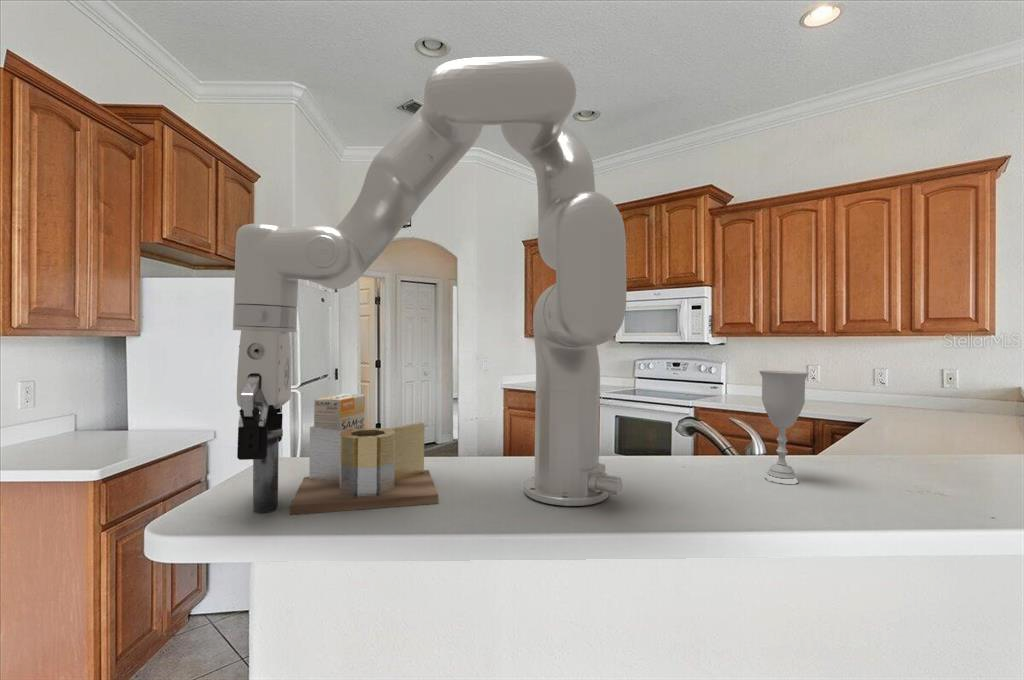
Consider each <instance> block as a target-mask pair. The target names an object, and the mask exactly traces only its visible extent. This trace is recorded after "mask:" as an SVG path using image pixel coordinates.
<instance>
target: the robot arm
mask: <svg viewBox="0 0 1024 680" xmlns="http://www.w3.org/2000/svg"><path fill="white" fill-rule="evenodd" d="M423 94H424V95H423V103H422V105H421V106H420V107H419V108H418V109H417V111H416V112H415V113H414V114H413V115H412V116H411V117H410V118H409V120H408V121H407V122H405V123H404V125H402V127H400V129H399V130H398V131H397V132H396V133H395V134H394V135H393V137H392V138H391V139H390V140H389V141H388V142H387V143H386V144H385V145H384V147H382V148H381V149H380V150H379V151H378V153H377V154H376V155H375V156H374V157H373V159H372V160H371V163H369V167H368V169H367V172H366V174H365V178H364V182H363V184H362V187H361V190H360V192H359V194H358V197H357V198H356V199H355V202H354V204H353V205H352V207H351V208H350V209H349V211H348V212H347V213H346V215H345V216H344V217H343V218H342V220H341V221H340V222H339V223H338V224H337V225H336V226H330V225H322V224H321V225H306V226H303V225H302V226H286V227H284V226H281V225H275V224H270V223H269V224H267V223H249V224H243V225H242V226H240V227H239V228H238V229H237V232H236V235H235V236H236V237H235V257H234V259H235V260H234V261H235V262H234V284H233V285H234V286H233V287H234V289H233V292H234V293H233V310H232V311H233V313H232V315H233V316H232V331H240V337H239V345H238V358H237V359H238V360H237V375H236V377H237V378H236V404H237V406H238V407H239V408H240V409H239V412H238V413H239V418H238V427H237V428H238V429H237V453H236V454H237V457H236V458H237V459H238V460H239V461H241V460H243V461H244V460H247V461H248V460H252V461H253V459H265V458H266V456H267V440H268V428H279V429H283V406H284V405H285V404H287V403H288V402H290V400H291V396H292V387H291V386H292V383H291V381H292V380H291V377H292V374H291V373H292V371H291V370H292V369H291V368H292V366H291V364H292V363H291V362H292V360H291V358H292V357H291V356H292V355H291V351H292V350H291V340H290V339H291V338H290V333H297V325H298V324H297V323H298V295H299V293H298V291H299V280H303V281H309V282H313V283H315V284H318V285H320V286H322V287H324V288H327V289H331V290H341V289H345V288H347V287H350V286H351V285H353V284H355V282H357V281H358V280H359V279H360V278H361V277H362V275H363V274H365V272H366V271H367V270H368V269H369V268H370V267H371V266H372V264H374V262H375V261H376V260H377V259H378V258H379V257H380V256H381V254H382V253H383V252H384V251H385V250H386V249H387V247H389V245H390V244H391V243H392V241H393V240H394V239H395V237H396V236H397V235H398V233H399V232H400V231H401V230H402V228H403V227H404V226H405V225H406V224H407V223H408V222H409V221H410V219H411V218H412V217H413V215H414V214H415V213H416V211H418V208H419V207H420V206H421V205H422V203H424V201H425V200H426V198H427V197H428V196H429V195H430V194H431V193H432V192H433V191H434V190H435V189H436V187H437V186H438V185H439V184H440V182H441V181H442V180H443V179H444V178H445V177H446V176H447V175H448V174H449V173H450V172H451V171H452V169H453V168H454V167H455V166H456V165H457V164H458V163H459V162H460V160H461V159H462V158H464V156H465V155H466V154H467V153H468V152H469V150H470V149H471V148H472V147H473V146H474V145H475V143H476V142H477V140H478V139H479V137H480V135H481V132H482V130H483V127H484V126H490V125H491V126H498V125H500V128H501V129H500V130H501V132H502V136H503V138H504V139H505V141H506V142H507V144H508V145H509V146H510V147H511V148H512V149H513V150H514V151H516V152H517V153H519V154H520V155H521V156H522V157H523V158H524V159H526V161H527V162H528V163H529V164H530V165H531V167H532V169H533V170H534V173H535V177H536V185H537V187H536V188H537V205H538V206H537V208H538V209H537V211H538V213H537V217H538V219H537V220H538V221H537V222H538V223H537V226H538V228H537V229H538V230H537V245H538V251H539V254H540V257H541V259H542V261H543V262H544V264H545V265H546V266H548V267H549V268H550V269H552V270H554V271H555V274H556V275H555V278H556V280H555V281H556V282H555V283H554V284H552V285H550V286H548V287H547V288H546V289H544V291H543V292H542V293H541V294H540V296H539V297H538V299H537V301H536V303H535V306H534V310H533V315H532V327H533V329H532V330H533V337H534V348H535V349H534V350H535V403H534V404H535V405H534V407H535V414H534V416H535V417H534V418H535V421H534V476H531V477H530V478H528V479H527V480H526V481H525V482H524V483H523V484H524V485H523V492H524V494H525V495H526V496H528V497H529V498H530V499H532V500H534V501H537V502H540V503H543V504H548V505H555V506H561V507H562V506H563V507H564V506H566V507H577V506H578V507H581V506H582V507H583V506H591V505H595V504H598V503H601V502H604V501H605V500H607V498H608V497H609V496H610V495H609V494H612V495H617V496H620V495H621V494H622V492H623V488H624V487H623V481H622V480H623V479H622V477H620V476H616V475H609V474H608V473H607V472H606V464H605V463H599V462H600V460H599V459H600V454H599V453H600V398H601V395H600V394H601V369H600V365H601V364H600V358H599V353H598V352H599V351H598V345H599V346H600V345H603V344H604V343H607V342H608V341H610V340H612V338H615V337H614V336H616V335H617V334H618V332H619V331H620V330H621V327H622V325H623V324H624V323H623V322H624V320H625V315H626V312H627V311H626V309H627V238H626V228H625V223H624V221H623V220H624V219H623V217H622V214H621V213H620V210H619V208H618V207H617V206H616V204H614V202H613V201H612V200H611V199H610V198H609V197H608V196H605V195H603V194H601V193H599V192H597V191H596V185H595V170H594V164H593V160H592V156H591V154H590V152H589V150H588V148H587V146H586V145H585V144H584V143H583V141H582V140H581V139H580V138H579V137H578V136H577V135H576V134H575V132H574V131H573V130H572V129H571V128H569V127H568V126H567V125H565V124H564V123H565V121H566V120H567V119H568V117H569V116H570V115H571V113H572V110H573V108H574V106H575V102H576V97H577V86H576V82H575V79H574V76H573V75H572V73H571V72H570V70H569V69H568V68H567V66H565V65H564V64H563V63H562V62H560V61H559V60H557V59H554V58H551V57H548V56H543V55H506V56H502V55H501V56H480V57H479V56H476V57H468V58H467V57H465V58H458V59H452V60H449V61H446V62H443V63H441V64H439V65H438V66H436V67H435V68H434V69H433V70H432V71H431V72H430V73H429V74H428V76H427V78H426V81H425V83H424V92H423ZM282 438H283V436H282V437H281V438H279V443H280V442H281V441H282Z"/></svg>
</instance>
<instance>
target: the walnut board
mask: <svg viewBox="0 0 1024 680" xmlns="http://www.w3.org/2000/svg"><path fill="white" fill-rule="evenodd" d="M438 503H439V494H438V492H437V488H436V485H435V483H434V480H433V478H432V475H431V473H430V469H424V473H421V474H418V475H415V476H411V477H408V478H405V479H402V480H398V481H395V482H394V490H393V491H391V492H388V493H385V494H383V495H376V496H372V497H358V498H357V496H356V497H350V496H346V495H342V494H341V493H340V485H337V484H331V483H326V482H320V481H315V480H309V476H304V477H303V479H302V480H301V483H300V485H299V487H298V488H297V491H296V492H295V495H294V496H293V499H292V501H291V503H290V504H289V515H290V516H292V515H302V514H303V515H305V514H315V513H316V514H317V513H329V512H343V511H345V512H346V511H356V510H370V509H384V508H395V507H398V508H399V507H407V506H408V507H409V506H410V507H411V506H419V505H420V506H423V505H434V504H438Z"/></svg>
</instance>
